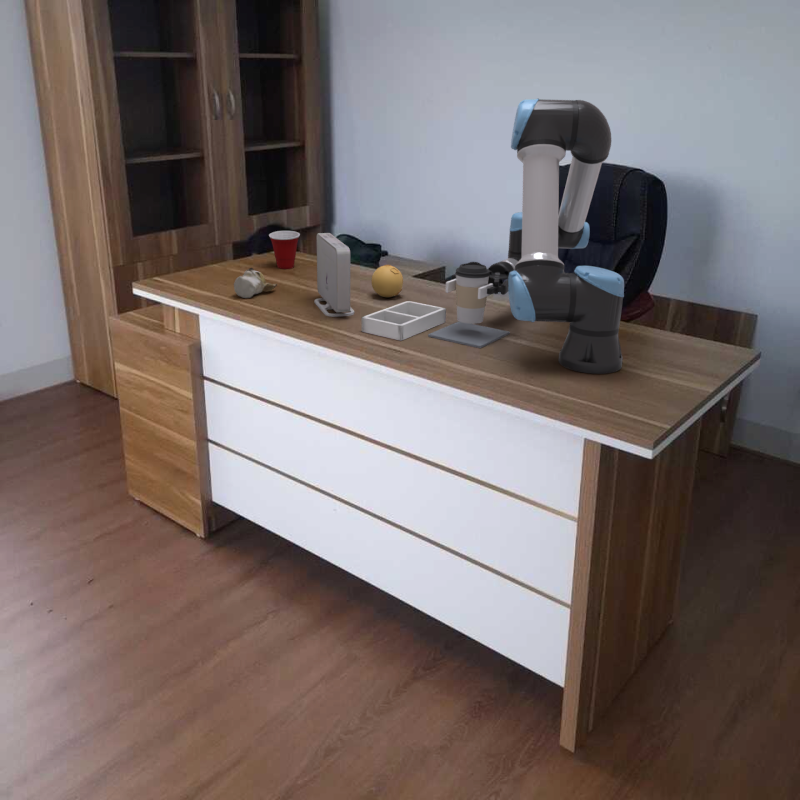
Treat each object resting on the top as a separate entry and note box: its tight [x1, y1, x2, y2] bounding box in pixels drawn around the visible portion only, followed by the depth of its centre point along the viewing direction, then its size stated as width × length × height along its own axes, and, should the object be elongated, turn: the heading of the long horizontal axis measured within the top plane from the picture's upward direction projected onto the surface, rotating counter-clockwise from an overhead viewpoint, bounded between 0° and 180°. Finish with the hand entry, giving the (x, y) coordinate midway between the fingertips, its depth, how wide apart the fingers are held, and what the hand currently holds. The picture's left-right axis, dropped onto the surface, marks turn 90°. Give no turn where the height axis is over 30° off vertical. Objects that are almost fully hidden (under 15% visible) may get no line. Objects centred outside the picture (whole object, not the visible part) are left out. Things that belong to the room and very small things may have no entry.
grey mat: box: [427, 320, 511, 349], centre depth 220 cm, size 16×16×1 cm
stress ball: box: [371, 264, 404, 298], centre depth 254 cm, size 10×10×10 cm
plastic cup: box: [268, 230, 301, 270], centre depth 289 cm, size 11×11×12 cm
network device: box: [314, 232, 355, 318], centre depth 239 cm, size 26×9×20 cm, turn 18°
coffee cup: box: [454, 261, 490, 325], centre depth 216 cm, size 9×9×15 cm
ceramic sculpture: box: [233, 267, 278, 299], centre depth 254 cm, size 11×9×15 cm
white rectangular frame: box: [361, 300, 447, 341], centre depth 225 cm, size 13×22×4 cm, turn 145°
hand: (462, 290), depth 212 cm, fingers closed on coffee cup, 9 cm apart
